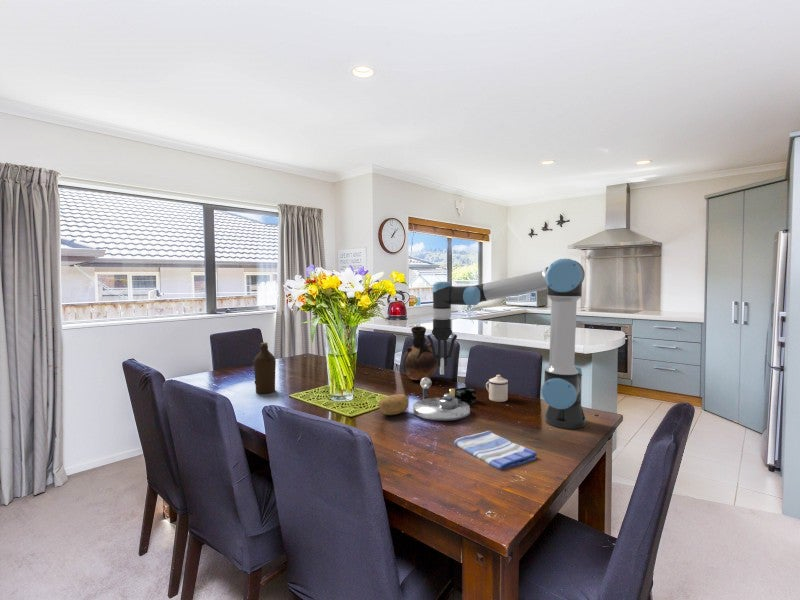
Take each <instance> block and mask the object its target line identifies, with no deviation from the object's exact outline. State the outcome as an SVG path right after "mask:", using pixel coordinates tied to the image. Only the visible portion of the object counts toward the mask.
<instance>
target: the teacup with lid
mask: <svg viewBox="0 0 800 600" xmlns="http://www.w3.org/2000/svg"><path fill="white" fill-rule="evenodd" d="M485 388H486V390H487V392H488V399H489V400H490V401H492V402H498V403H502V402H503V403H504V402H506V401H508V398H509V397H508V396H509V395H508V393H509V392H508V391H509V380H508V379H506V378H504V377H502V375H501V374H496V375H495V376H494V377H492V378H489V379H488V381H487V382H486V383H485Z"/></svg>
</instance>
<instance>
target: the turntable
mask: <svg viewBox="0 0 800 600" xmlns="http://www.w3.org/2000/svg"><path fill="white" fill-rule="evenodd" d="M455 389H456V388H449V394H453V397H454V398H455ZM439 398H440V397H432V398H427V399H423V398H422V399H420V400H418V401H417V400H416V402H414V403H413V405H412V410H413V414H414V415H416V416H417V417H419V418H423V419H425V420H430V421H442V422H443V421H448V422H449V421H457V420H461V419H464V418H466V417H468V416H469V415H470V414H471V411H470V409H471V408H470V407H471V406H470V404H467V403H465V402H463V401H460V400H458V407H457V408H456V409H442V408H440V407H439Z"/></svg>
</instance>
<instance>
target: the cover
mask: <svg viewBox="0 0 800 600" xmlns="http://www.w3.org/2000/svg"><path fill="white" fill-rule="evenodd" d="M438 398H439V407H440V408H442V409H456V408H457V407H458V399H457V398H454V397H453V394H450V392H449V393H447V392H446V393H444V394H443V396H442V397H438Z"/></svg>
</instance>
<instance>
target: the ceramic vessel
mask: <svg viewBox="0 0 800 600" xmlns="http://www.w3.org/2000/svg"><path fill="white" fill-rule="evenodd" d="M410 330H411V333H412V337H413V340H412V344H413V345H412V346H408V347H407V348H406V352H405V353H404V355H403V357H402V361H401V364H402V365H401V366H402V369H403V371H404V373H405V375H406V376H407V377H408V378H409V379H411V380H413V381H421V379H422V378H424V377H427V378H429V379H431V377H432V376H433V374H435V372H436V370H437V368H438V365H437V358H435V357H433V353H432V349H431V345H430V343H428V344H426V341H427V339H426V337H425V336H426V331H427V328H426V327H425V326H421V325H419V326H417V325H416V326H413V327H412V328H411V329H410Z"/></svg>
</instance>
